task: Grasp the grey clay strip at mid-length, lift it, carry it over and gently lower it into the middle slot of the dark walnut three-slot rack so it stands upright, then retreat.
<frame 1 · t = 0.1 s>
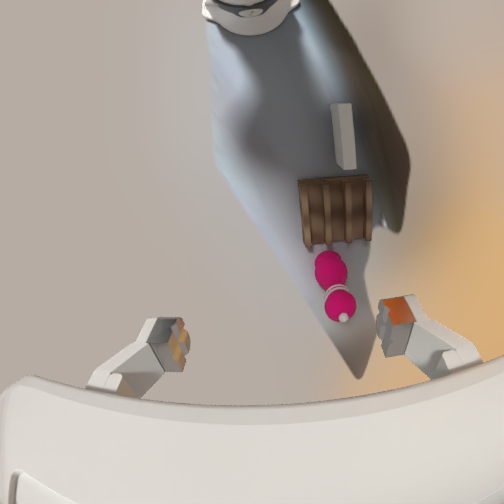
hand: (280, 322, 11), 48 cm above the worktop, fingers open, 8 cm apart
walnut rack: (335, 208, 58), on the worktop
pepper mill: (327, 261, 65), on the worktop
clay strip: (339, 133, 50), on the worktop
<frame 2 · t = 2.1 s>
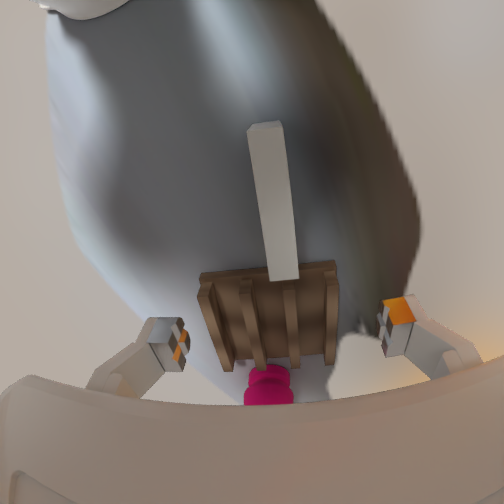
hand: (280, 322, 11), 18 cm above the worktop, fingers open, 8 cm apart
walnut rack: (273, 314, 34), on the worktop
pepper mill: (269, 374, 41), on the worktop
clay strip: (275, 184, 26), on the worktop
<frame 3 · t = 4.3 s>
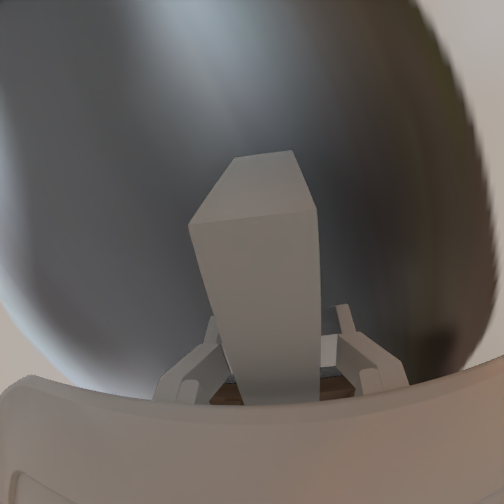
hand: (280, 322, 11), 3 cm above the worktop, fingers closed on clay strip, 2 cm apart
walnut rack: (273, 424, 22), on the worktop
clay strip: (279, 275, 14), on the worktop, touching gripper
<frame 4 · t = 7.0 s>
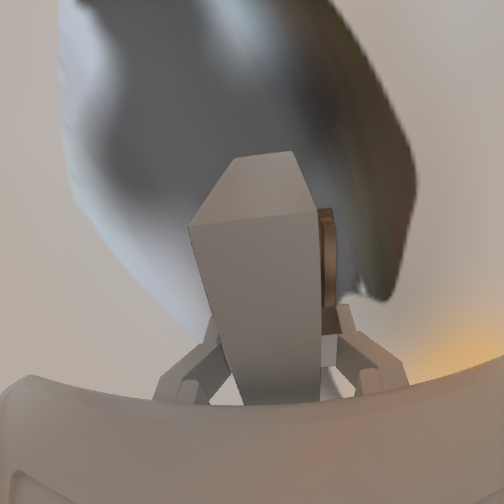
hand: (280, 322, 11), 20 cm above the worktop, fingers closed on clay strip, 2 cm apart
walnut rack: (270, 268, 34), on the worktop
clay strip: (280, 276, 14), point 17 cm above the worktop, touching gripper
when the fingers open (6 cm above the worktop, at t = 9.8 s): clay strip drops 2 cm, resting on walnut rack.
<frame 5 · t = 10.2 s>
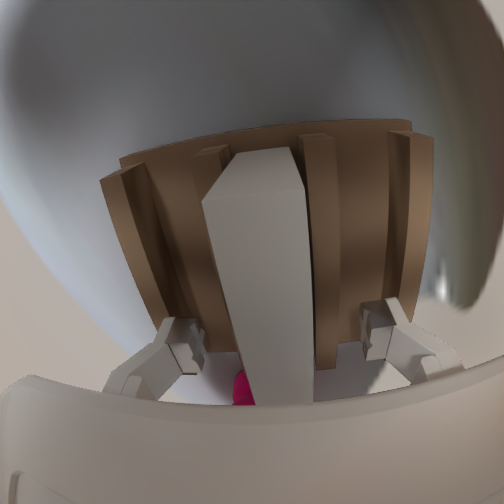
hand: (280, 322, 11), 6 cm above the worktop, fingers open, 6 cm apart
walnut rack: (279, 250, 16), on the worktop
pepper mill: (270, 382, 23), on the worktop
clay strip: (278, 261, 15), point 1 cm above the worktop, touching walnut rack
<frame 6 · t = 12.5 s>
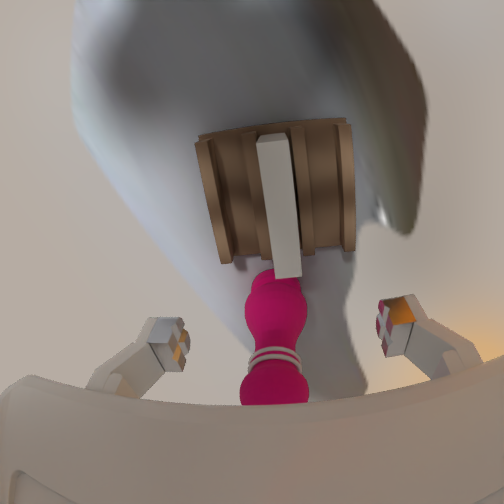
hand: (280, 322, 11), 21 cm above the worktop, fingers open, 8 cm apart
walnut rack: (280, 187, 30), on the worktop
pepper mill: (276, 287, 36), on the worktop
clay strip: (280, 190, 29), point 1 cm above the worktop, touching walnut rack
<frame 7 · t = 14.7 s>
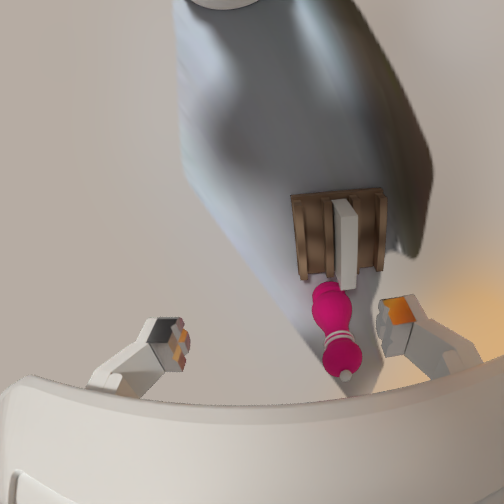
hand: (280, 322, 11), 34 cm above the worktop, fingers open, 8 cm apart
walnut rack: (338, 230, 46), on the worktop
pepper mill: (328, 293, 52), on the worktop
clay strip: (339, 234, 45), point 1 cm above the worktop, touching walnut rack
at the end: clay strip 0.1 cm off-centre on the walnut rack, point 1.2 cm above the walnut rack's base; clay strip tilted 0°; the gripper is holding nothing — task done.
